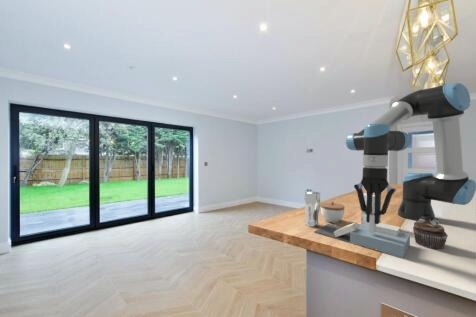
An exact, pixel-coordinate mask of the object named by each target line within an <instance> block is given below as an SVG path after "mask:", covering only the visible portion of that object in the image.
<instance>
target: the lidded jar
mask: <svg viewBox="0 0 476 317" xmlns="http://www.w3.org/2000/svg"><path fill="white" fill-rule="evenodd" d="M345 208H346V207H345V206H344V205H343V204H340V203H337V202H334V201H330V202H321V203H320V212H321V216H322V218H323V219H324V221H325V222H328V223H333V224H336V223H337V224H338V223H339V222H340V221H341V220H342V219H343V218H344V215H345Z"/></svg>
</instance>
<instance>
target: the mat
mask: <svg viewBox="0 0 476 317" xmlns="http://www.w3.org/2000/svg"><path fill="white" fill-rule="evenodd" d="M342 227H343V226H338V225H334V224H330V223H327V224H326V225H323V226H322V227H320V228H318V229H316V230H315V231H313V233H315V234H318V235H322V236H325V237H329V238H332V239H335V240H338V239H339V240H338V241H343V242H345V241H346V243H349V242H350V232H349V233H346V234H344V235H341V236H338V237H336V236H335V234H334V233H333V232H334V231H336V230H337V229H339V228H342Z"/></svg>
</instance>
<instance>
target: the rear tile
mask: <svg viewBox="0 0 476 317" xmlns="http://www.w3.org/2000/svg"><path fill="white" fill-rule="evenodd" d="M376 231H377V232H381V233H385V234H389V235H393V236H398V234H399V233H400V232H401V227H400V226H396V225H393V224H387V223H382V222H381V223H379V224H376Z"/></svg>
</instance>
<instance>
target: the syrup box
mask: <svg viewBox="0 0 476 317" xmlns="http://www.w3.org/2000/svg"><path fill="white" fill-rule="evenodd" d="M363 195H364V199H365V204H366V207H367V192H365V193H364V192H363ZM381 209H382V202H381V203H380V211H381ZM372 213H375V193H373V198H372ZM381 216H382V215H380V221H379V223H382V222H381V221H382V220H381V218H382V217H381ZM366 217H367V214H366V212H364V211H362V210H361V223H360V225H361V224H366V225H369V222H367V221H366Z"/></svg>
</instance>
